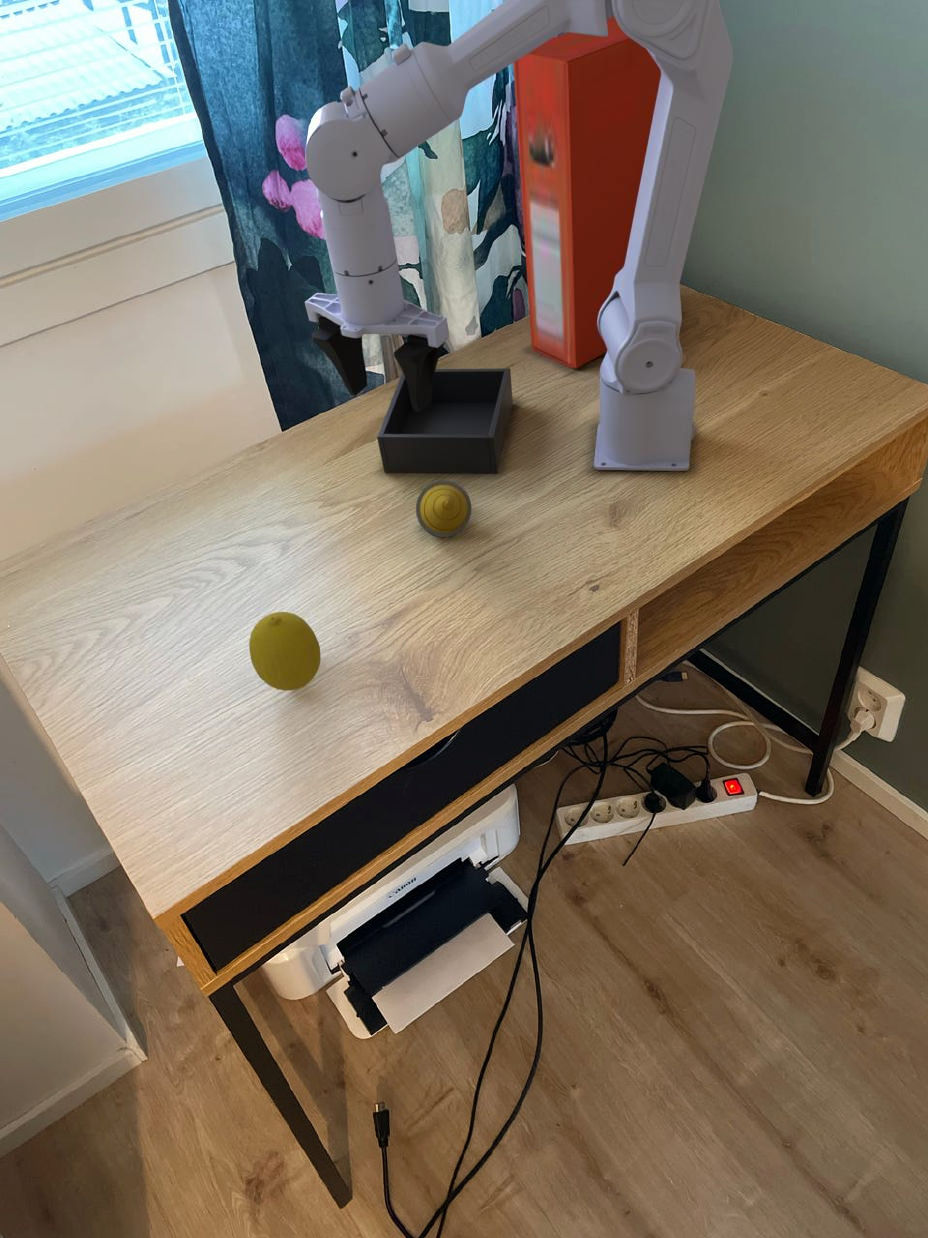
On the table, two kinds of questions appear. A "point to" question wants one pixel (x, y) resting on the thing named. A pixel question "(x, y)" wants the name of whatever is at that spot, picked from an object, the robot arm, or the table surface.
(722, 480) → the table surface
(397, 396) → the bin
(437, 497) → the yellow traffic cone
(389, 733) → the table surface
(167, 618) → the table surface
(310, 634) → the lemon
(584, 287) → the file binder
